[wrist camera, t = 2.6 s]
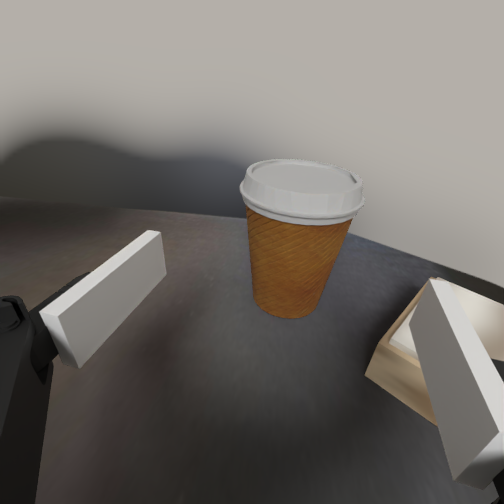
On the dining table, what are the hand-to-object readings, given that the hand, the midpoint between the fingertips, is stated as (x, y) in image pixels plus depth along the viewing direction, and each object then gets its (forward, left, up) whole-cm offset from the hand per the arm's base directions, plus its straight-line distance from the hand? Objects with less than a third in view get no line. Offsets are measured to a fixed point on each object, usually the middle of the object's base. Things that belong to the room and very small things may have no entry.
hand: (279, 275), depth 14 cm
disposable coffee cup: (-5, +9, -10) cm, 14 cm away
